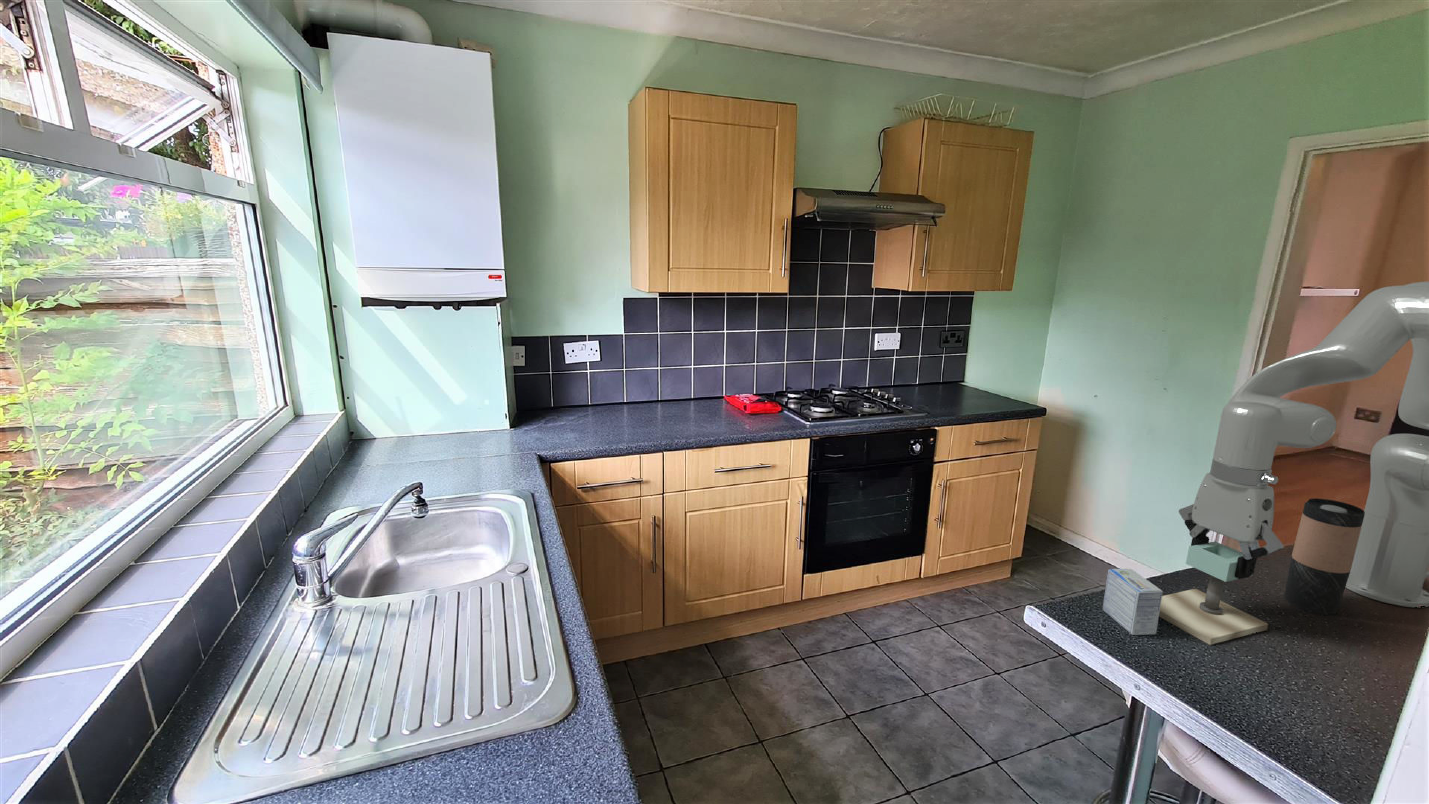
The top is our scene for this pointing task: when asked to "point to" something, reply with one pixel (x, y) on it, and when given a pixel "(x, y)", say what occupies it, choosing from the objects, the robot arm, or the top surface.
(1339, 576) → the travel mug
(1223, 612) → the board
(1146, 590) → the medicine box
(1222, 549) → the ring
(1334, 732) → the top surface
